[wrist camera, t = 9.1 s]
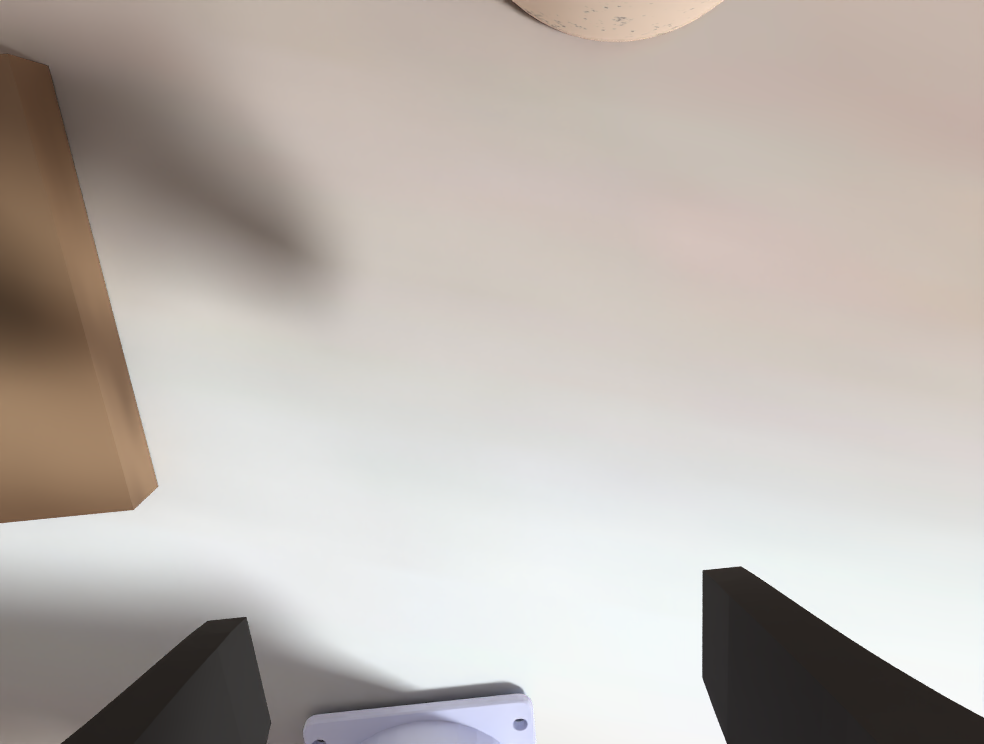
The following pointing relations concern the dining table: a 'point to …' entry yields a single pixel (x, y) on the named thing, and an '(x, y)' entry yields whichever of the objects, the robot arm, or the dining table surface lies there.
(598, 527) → the dining table surface
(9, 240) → the walnut slab
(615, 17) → the teacup with lid
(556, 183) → the dining table surface
